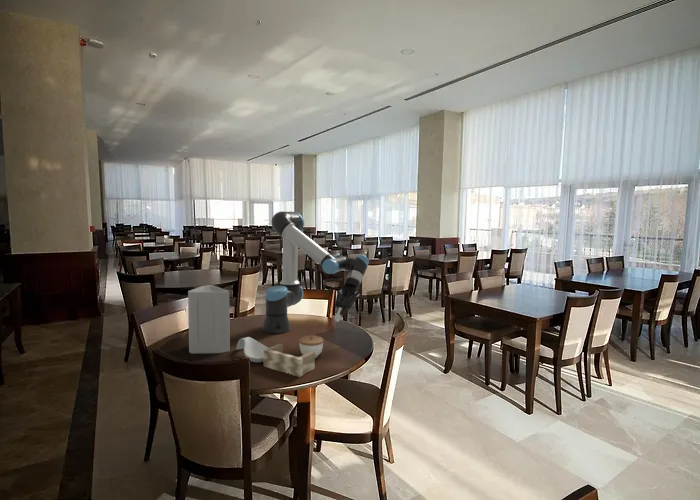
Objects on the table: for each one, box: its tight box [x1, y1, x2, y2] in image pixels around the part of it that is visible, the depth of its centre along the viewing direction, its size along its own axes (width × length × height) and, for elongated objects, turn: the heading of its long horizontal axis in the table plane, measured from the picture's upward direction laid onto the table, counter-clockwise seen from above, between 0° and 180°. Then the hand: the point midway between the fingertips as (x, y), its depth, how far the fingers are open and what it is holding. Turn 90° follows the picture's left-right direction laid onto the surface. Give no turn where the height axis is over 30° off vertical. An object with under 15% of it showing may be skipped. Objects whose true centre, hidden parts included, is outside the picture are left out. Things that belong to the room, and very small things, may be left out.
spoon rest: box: [236, 336, 269, 363], centre depth 171 cm, size 24×12×7 cm, turn 41°
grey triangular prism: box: [187, 284, 231, 354], centre depth 177 cm, size 19×15×28 cm
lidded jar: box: [298, 335, 324, 359], centre depth 172 cm, size 11×11×9 cm
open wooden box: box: [263, 343, 316, 378], centre depth 159 cm, size 19×10×7 cm, turn 59°
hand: (336, 320), depth 185 cm, fingers closed
